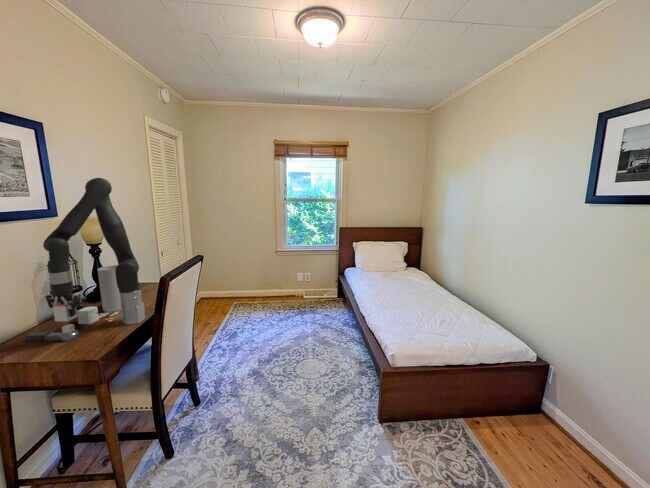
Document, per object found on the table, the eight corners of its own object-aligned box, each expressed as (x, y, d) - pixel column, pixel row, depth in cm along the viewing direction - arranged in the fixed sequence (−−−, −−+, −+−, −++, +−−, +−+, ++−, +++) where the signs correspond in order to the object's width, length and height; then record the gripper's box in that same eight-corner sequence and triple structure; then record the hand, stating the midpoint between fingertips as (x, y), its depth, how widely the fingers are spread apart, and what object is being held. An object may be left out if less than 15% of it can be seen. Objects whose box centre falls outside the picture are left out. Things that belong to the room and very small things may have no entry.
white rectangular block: (77, 316, 132) (75, 300, 131) (67, 321, 127) (65, 304, 126) (65, 316, 132) (63, 300, 131) (54, 321, 127) (52, 304, 125)
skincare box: (89, 324, 145) (87, 311, 144) (78, 324, 146) (76, 310, 144) (99, 319, 151) (97, 306, 150) (88, 319, 152) (87, 306, 150)
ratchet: (82, 334, 134) (80, 322, 133) (71, 341, 128) (69, 328, 127) (36, 335, 133) (34, 323, 132) (22, 342, 127) (20, 329, 126)
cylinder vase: (112, 313, 158) (107, 271, 154) (97, 310, 162) (92, 269, 158) (134, 305, 170) (129, 266, 166) (119, 303, 174) (114, 264, 170)
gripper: (84, 278, 130) (88, 312, 133) (52, 278, 130) (57, 312, 133) (70, 283, 123) (75, 319, 126) (36, 283, 122) (42, 319, 125)
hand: (65, 315), depth 129 cm, fingers closed on white rectangular block, 5 cm apart
